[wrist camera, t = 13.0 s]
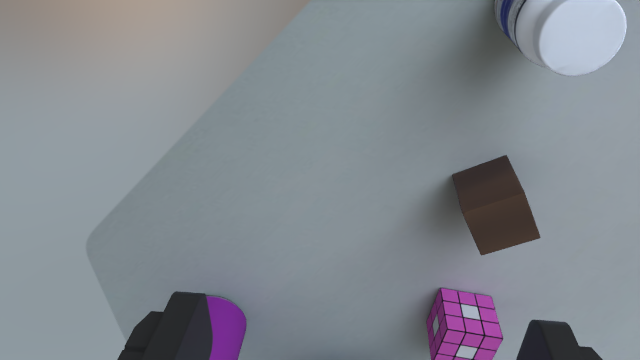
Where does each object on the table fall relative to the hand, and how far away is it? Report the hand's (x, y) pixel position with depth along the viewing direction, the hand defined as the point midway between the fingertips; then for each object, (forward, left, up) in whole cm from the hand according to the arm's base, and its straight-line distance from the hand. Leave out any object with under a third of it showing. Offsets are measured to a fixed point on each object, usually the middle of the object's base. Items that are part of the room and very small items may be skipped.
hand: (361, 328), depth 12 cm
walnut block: (+17, +8, -30) cm, 36 cm away
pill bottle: (+1, +12, -30) cm, 33 cm away
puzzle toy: (+33, +4, -30) cm, 45 cm away
